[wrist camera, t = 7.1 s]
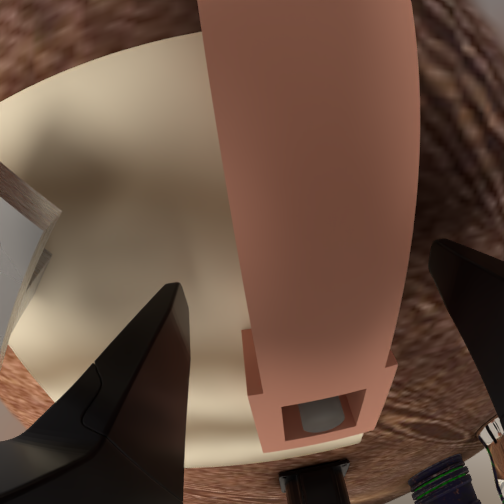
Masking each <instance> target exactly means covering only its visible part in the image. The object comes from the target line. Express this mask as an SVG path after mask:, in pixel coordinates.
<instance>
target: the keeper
mask: <svg viewBox="0 0 504 504" xmlns="http://www.w3.org/2000/svg"><path fill="white" fill-rule="evenodd" d="M61 213H62V210H61V209H59V208H58V207H57V206H55V205H54V204H53V203H51V202H50V201H49V200H47V199H46V198H45V197H44V196H42V195H41V194H40V193H38V192H37V191H36V190H35V189H33V188H32V187H31V186H30V185H28V184H27V183H26V182H24V181H23V180H22V179H21V178H20V177H18V176H17V175H16V174H15V173H13V172H12V171H11V170H10V169H9V168H7V167H6V166H5V165H4V164H3V163H1V162H0V370H1V367H2V363H3V359H4V356H5V352H6V349H7V345H8V342H9V339H10V335H11V333H12V331H13V330H14V328H15V326H16V324H17V323H18V321H19V319H20V318H21V316H22V314H23V313H24V311H25V309H26V308H27V306H28V304H29V303H30V301H31V300H32V298H33V296H34V294H35V292H36V289H37V287H38V285H39V282H40V280H41V278H42V276H43V274H44V271H45V269H46V267H47V265H48V263H49V261H50V259H51V257H52V253H50V252H49V251H47V250H46V249H45V248H44V247H45V245H46V243H47V241H48V239H49V237H50V235H51V232H52V230H53V228H54V226H55V224H56V222H57V220H58V218H59V217H60V215H61Z"/></svg>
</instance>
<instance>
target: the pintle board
mask: <svg viewBox="0 0 504 504" xmlns="http://www.w3.org/2000/svg"><path fill="white" fill-rule="evenodd" d="M0 162H1V163H3V164H4V165H5V166H6V167H7V168H9V169H10V170H11V171H12V172H13V173H15V174H16V175H17V176H18V177H20V178H21V179H22V180H23V181H24V182H26V183H27V184H28V185H30V186H31V187H32V188H33V189H35V190H36V191H37V192H38V193H40V194H41V195H42V196H44V197H45V198H46V199H47V200H49V201H50V202H51V203H53V204H54V205H55V206H57V207H58V208H59V209H61V210H62V213H61V215H60V217H59V218H58V220H57V222H56V224H55V226H54V228H53V230H52V232H51V235H50V237H49V239H48V241H47V243H46V245H45V247H44V248H45V249H46V250H47V251H49V252H50V253H52V257H51V259H50V261H49V263H48V265H47V267H46V269H45V271H44V274H43V276H42V278H41V280H40V282H39V285H38V287H37V289H36V292H35V294H34V296H33V298H32V300H31V301H30V303H29V304H28V306H27V308H26V309H25V311H24V313H23V314H22V316H21V318H20V319H19V321H18V323H17V324H16V326H15V328H14V330H13V331H12V333H11V335H10V339H9V342H8V345H9V346H10V347H11V349H12V350H13V352H14V353H15V354H16V356H17V357H18V358H19V360H20V361H21V362H22V364H23V365H24V366H25V367H26V369H27V370H28V371H29V372H30V374H31V375H32V376H33V377H34V379H35V380H36V381H37V382H38V383H39V385H40V386H41V387H42V388H43V389H44V391H45V392H46V393H47V394H48V395H49V396H50V397H51V399H52V400H53V401H54V402H56V401H57V400H58V399H59V398H60V397H61V396H62V395H63V394H64V393H65V392H66V391H67V390H68V389H69V388H70V387H71V386H72V385H73V384H74V383H75V382H76V381H77V380H78V379H79V378H80V377H81V375H82V374H83V373H84V372H85V371H86V370H87V369H88V368H89V366H90V365H91V364H92V363H94V361H95V360H96V359H97V358H98V356H99V355H100V354H101V353H102V352H103V351H104V350H105V349H106V348H107V346H108V345H109V344H110V343H111V342H112V341H113V340H114V339H115V338H116V336H117V335H118V334H119V333H120V332H121V331H122V330H123V329H124V328H125V327H126V325H127V324H128V323H129V322H130V321H131V320H132V319H133V318H134V317H135V316H136V315H137V313H138V312H139V311H140V310H141V309H142V308H143V307H144V306H145V305H146V304H147V303H148V302H149V301H150V299H151V298H152V297H153V296H154V295H155V294H156V293H157V292H158V291H159V290H160V289H161V288H162V287H163V286H164V285H165V284H167V283H173V282H180V283H181V285H182V288H183V291H184V294H185V297H186V300H187V304H188V307H189V323H190V350H191V364H190V377H189V391H188V405H187V420H186V438H185V458H184V468H200V467H219V466H232V465H243V464H252V463H260V462H268V461H275V460H282V459H288V458H294V457H299V456H305V455H310V454H315V453H320V452H324V451H329V450H333V449H337V448H342V447H346V446H349V445H353V444H357V443H360V441H361V438H362V435H363V433H361V434H357V435H354V436H350V437H346V438H342V439H338V440H333V441H329V442H324V443H320V444H315V445H310V446H305V447H300V448H294V449H288V450H282V451H276V452H269V453H263V451H262V447H261V444H260V440H259V437H258V433H257V429H256V426H255V422H254V418H253V415H252V411H251V407H250V404H249V400H248V396H247V387H246V376H245V366H244V355H243V344H242V333H241V330H245V329H251V324H250V319H249V313H248V308H247V302H246V297H245V291H244V286H243V280H242V274H241V269H240V263H239V257H238V252H237V246H236V240H235V234H234V229H233V223H232V217H231V211H230V205H229V199H228V193H227V187H226V182H225V176H224V170H223V163H222V157H221V151H220V145H219V139H218V133H217V127H216V120H215V114H214V108H213V102H212V95H211V89H210V83H209V76H208V70H207V63H206V57H205V50H204V43H203V37H202V32H198V33H192V34H187V35H182V36H177V37H173V38H168V39H164V40H160V41H155V42H151V43H148V44H144V45H140V46H136V47H133V48H129V49H126V50H123V51H119V52H116V53H113V54H110V55H107V56H104V57H101V58H98V59H95V60H92V61H90V62H87V63H84V64H81V65H79V66H76V67H74V68H71V69H69V70H66V71H64V72H61V73H59V74H57V75H54V76H52V77H50V78H47V79H45V80H43V81H41V82H39V83H37V84H34V85H32V86H30V87H28V88H26V89H24V90H22V91H20V92H18V93H16V94H14V95H13V96H11V97H9V98H7V99H5V100H3V101H1V102H0ZM94 364H95V363H94ZM298 407H299V412H300V416H301V421H302V426H303V429H304V430H305V431H307V432H311V433H318V432H324V431H327V430H330V429H333V428H335V427H337V426H338V425H340V424H341V423H342V422H343V421H344V419H345V415H344V412H343V409H342V406H341V403H340V399H339V396H334V397H330V398H325V399H320V400H316V401H311V402H305V403H300V404H298Z"/></svg>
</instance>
